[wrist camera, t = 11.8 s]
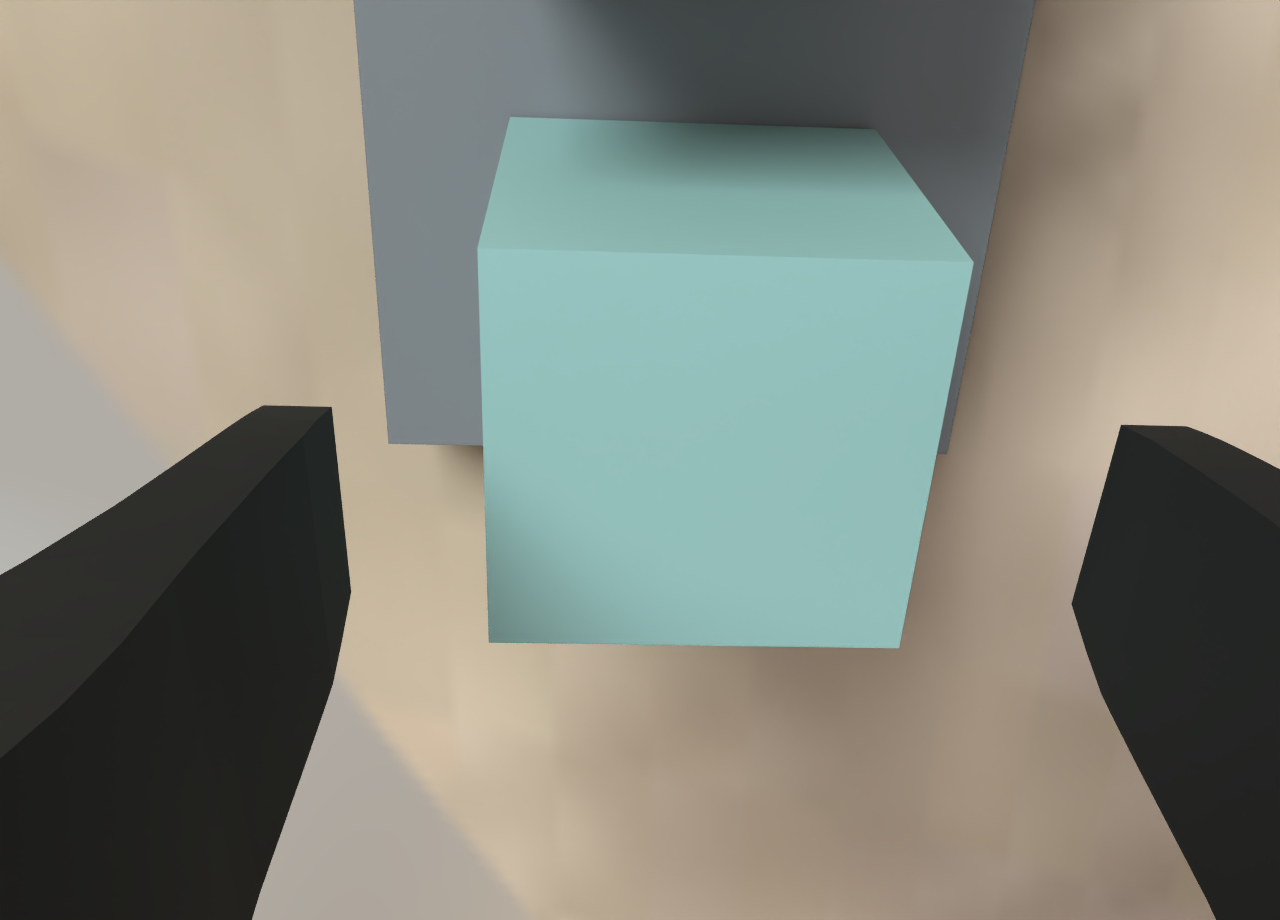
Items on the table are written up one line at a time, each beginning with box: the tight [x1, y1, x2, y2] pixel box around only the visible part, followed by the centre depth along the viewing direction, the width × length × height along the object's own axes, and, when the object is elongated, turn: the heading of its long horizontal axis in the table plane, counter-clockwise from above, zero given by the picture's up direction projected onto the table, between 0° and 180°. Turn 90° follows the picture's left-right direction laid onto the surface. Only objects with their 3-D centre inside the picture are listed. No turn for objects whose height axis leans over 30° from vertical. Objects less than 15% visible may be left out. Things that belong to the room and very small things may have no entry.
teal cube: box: [477, 117, 974, 648], centre depth 14 cm, size 4×4×4 cm
